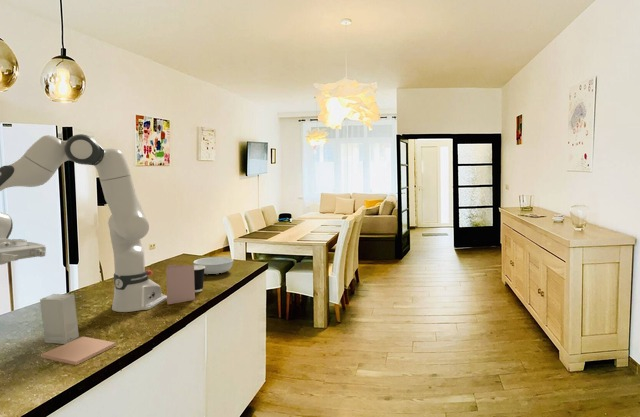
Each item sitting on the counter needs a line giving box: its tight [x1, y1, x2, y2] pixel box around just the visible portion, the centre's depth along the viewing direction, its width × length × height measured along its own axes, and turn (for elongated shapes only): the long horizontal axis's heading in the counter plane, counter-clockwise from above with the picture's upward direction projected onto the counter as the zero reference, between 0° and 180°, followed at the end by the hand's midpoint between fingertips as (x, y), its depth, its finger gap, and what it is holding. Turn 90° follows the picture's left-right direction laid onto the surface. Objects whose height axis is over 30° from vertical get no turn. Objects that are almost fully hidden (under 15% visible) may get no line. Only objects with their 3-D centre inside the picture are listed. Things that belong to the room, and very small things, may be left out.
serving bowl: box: [192, 256, 234, 275], centre depth 223 cm, size 21×21×7 cm
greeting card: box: [165, 264, 196, 305], centre depth 174 cm, size 11×7×15 cm, turn 89°
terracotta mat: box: [40, 336, 117, 366], centre depth 127 cm, size 14×14×1 cm
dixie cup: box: [194, 265, 205, 293], centre depth 190 cm, size 8×8×11 cm
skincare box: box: [39, 293, 80, 345], centre depth 134 cm, size 8×6×15 cm
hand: (30, 256), depth 137 cm, fingers open, 8 cm apart
